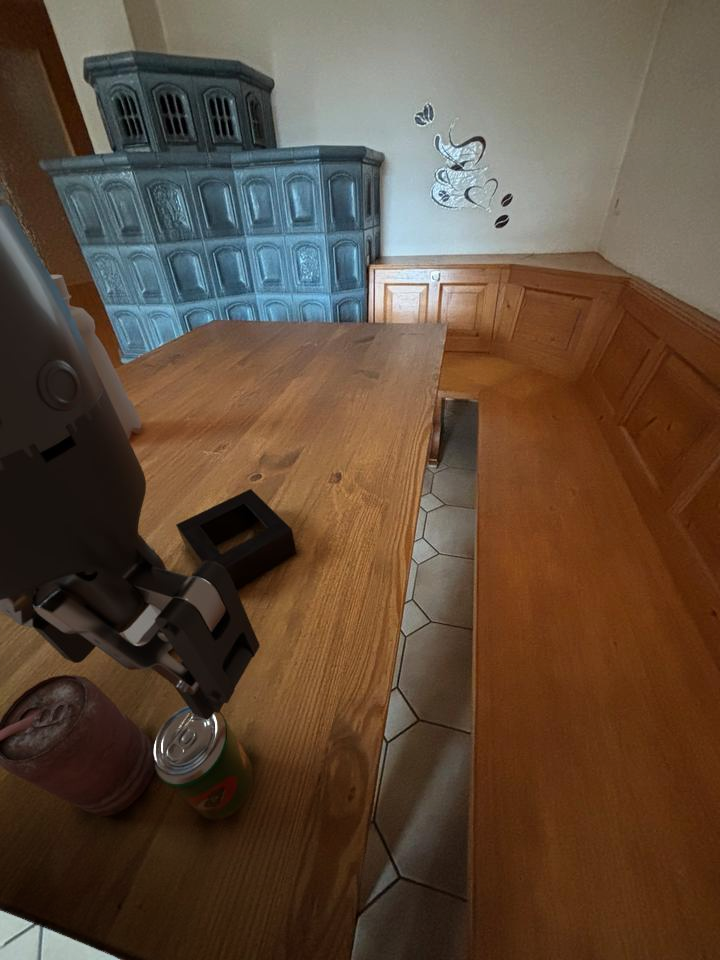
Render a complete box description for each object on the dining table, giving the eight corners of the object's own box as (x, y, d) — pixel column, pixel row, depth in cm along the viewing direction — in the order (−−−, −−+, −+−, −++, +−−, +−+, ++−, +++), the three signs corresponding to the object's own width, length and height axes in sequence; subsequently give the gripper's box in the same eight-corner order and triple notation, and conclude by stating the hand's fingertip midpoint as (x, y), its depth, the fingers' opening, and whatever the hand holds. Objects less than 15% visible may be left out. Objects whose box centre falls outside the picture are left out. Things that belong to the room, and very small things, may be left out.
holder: (296, 553, 55) (292, 529, 52) (221, 599, 49) (211, 575, 46) (256, 512, 62) (250, 488, 59) (186, 548, 56) (175, 524, 53)
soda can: (265, 770, 35) (238, 719, 28) (227, 835, 32) (184, 798, 24) (224, 740, 37) (188, 686, 30) (183, 799, 34) (131, 754, 26)
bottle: (153, 427, 83) (91, 273, 64) (121, 450, 76) (41, 285, 58) (120, 421, 85) (50, 270, 66) (85, 443, 79) (-3, 282, 60)
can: (73, 776, 35) (-26, 716, 26) (143, 721, 38) (77, 652, 30) (93, 840, 32) (-12, 797, 23) (169, 774, 35) (103, 714, 26)
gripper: (-400, 426, 10) (-12, 695, 20) (-19, 572, 6) (219, 810, 16) (-66, 334, 15) (105, 581, 26) (240, 382, 12) (297, 648, 22)
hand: (149, 670), depth 21 cm, fingers open, 8 cm apart
